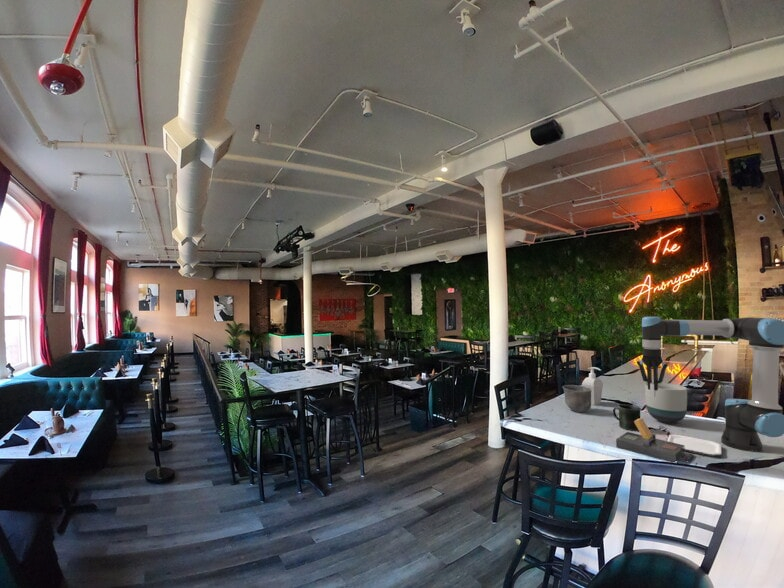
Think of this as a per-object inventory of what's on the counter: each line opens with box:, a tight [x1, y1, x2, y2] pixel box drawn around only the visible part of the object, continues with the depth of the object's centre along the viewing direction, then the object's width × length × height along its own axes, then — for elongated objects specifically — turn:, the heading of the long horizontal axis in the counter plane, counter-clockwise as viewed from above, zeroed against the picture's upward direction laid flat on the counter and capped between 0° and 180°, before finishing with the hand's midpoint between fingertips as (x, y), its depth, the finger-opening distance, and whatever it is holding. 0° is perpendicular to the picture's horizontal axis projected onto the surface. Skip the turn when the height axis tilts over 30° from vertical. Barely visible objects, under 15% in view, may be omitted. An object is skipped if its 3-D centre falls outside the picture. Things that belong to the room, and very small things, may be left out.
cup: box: [562, 384, 592, 413], centre depth 245 cm, size 18×18×15 cm
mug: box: [612, 404, 642, 432], centre depth 212 cm, size 11×15×12 cm
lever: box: [634, 417, 654, 442], centre depth 181 cm, size 2×8×11 cm, turn 131°
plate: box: [666, 434, 723, 457], centre depth 183 cm, size 21×21×2 cm
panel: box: [615, 431, 686, 463], centre depth 179 cm, size 24×16×7 cm, turn 40°
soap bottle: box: [581, 366, 604, 406], centre depth 261 cm, size 12×10×26 cm
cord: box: [685, 453, 694, 463], centre depth 169 cm, size 1×10×1 cm, turn 131°
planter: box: [644, 381, 688, 424], centre depth 222 cm, size 20×20×21 cm
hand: (653, 396), depth 179 cm, fingers closed
